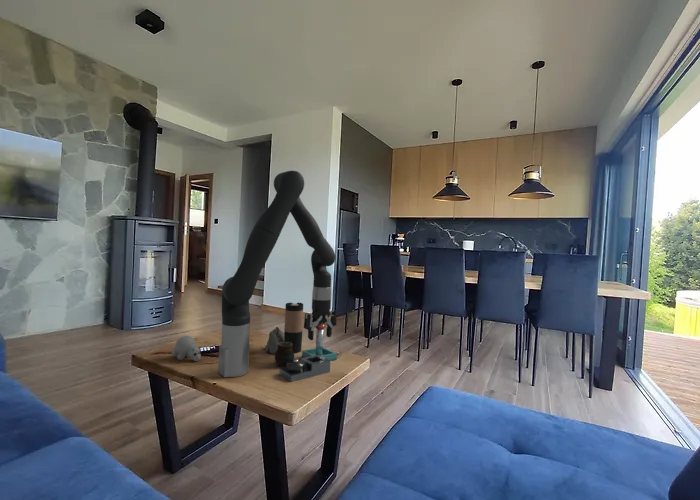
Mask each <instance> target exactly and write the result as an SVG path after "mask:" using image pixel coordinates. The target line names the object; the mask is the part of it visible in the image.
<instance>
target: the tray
mask: <svg viewBox="0 0 700 500" xmlns="http://www.w3.org/2000/svg"><path fill="white" fill-rule="evenodd" d="M314 355H316V347H315V348H310V349H305V350H301V358H304V357H309V356H314ZM322 357H324V358H326V359H328V360H330V362H331V361H336V360H337V359H338V353H337V352H335V351H333V350H331V349H329V348H327V347H324V346H323V355H322Z"/></svg>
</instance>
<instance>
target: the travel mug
mask: <svg viewBox="0 0 700 500" xmlns="http://www.w3.org/2000/svg"><path fill="white" fill-rule="evenodd" d="M284 310H285V311H284V312H285V313H284V332H283V333H284V342H290V341H291V342H290V343H292V344H293V347H292V349H293V352H294V354H298V353H301V352H302V348H303V347H302V343H303V329H304V303H302V302H297V303H293V302H286V303H285V308H284Z"/></svg>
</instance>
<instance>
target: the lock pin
mask: <svg viewBox="0 0 700 500" xmlns="http://www.w3.org/2000/svg"><path fill="white" fill-rule="evenodd" d="M326 326H327V325H326V324H325V323H321V324H318V325H317V326H316V327H315V328H316V330H315V331H316V333H315V336H316V337H315V348H316V355H320V356H322V355H323V347H324V341H325V338H324V337H325V335H324V333H325V328H326ZM315 328H314V329H315Z"/></svg>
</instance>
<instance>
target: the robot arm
mask: <svg viewBox="0 0 700 500" xmlns="http://www.w3.org/2000/svg"><path fill="white" fill-rule="evenodd" d="M304 188H305V180H304V176H303V175H302V174H301V173H300V172H299V171H296V170H287V171H283V172H280V173H278V174H277V175H275V176H274V179H273V189H274V191H275V192H276V193H275V196H274V198H273V199H272V202H271V203H270V205H268V207H267V208H266V209H265V211H264V212H263V213H262V214H261V216H260V217H259V218H258V219H257V221H256V222H255V224H254V226H253V229H252V230H251V232H250V234H249V237H248V239H247V241H246V244H245V245H246V246H245V249H244V253H243V257H242V260H241V263H239V266H238V268H237V270H236V272H235V273H234V275H233V276H231V277H229V278H227V279H226V280H225V281H224V283H223V285H222V287H221V340H220V341H221V344H219V347H218V367H217V368H218V371H217V372H218V373H219V375H221V376H222V377H223V378H237V377H242V376H245V375H246V374H248V373H249V366H250V365H249V364H250V363H249V362H250V358H249V357H250V337H251V336H250V334H251V333H250V332H251V331H250V330H251V313H250V300H251V298H252V296H253V294H254V292H255V288H256V286H257V282H258V281H259V280H258V279H259V277H260V274H261V273H262V269H263V268H264V266H265V265H266V264H267V263H266V262H267V261H268V260H269V258H270V255H271V253H272V251H273V249H274V247H275V246H276V244H277V241H278V239H279V237H280V235H281V233H282V230H283V229H284V226H285V225H286V222H287V220H288V217H289V215H290V214H291V216H292V217H293V219H294V221H295V222H296V225H297V226H298V229H299V230H300V232H301V235H302V236H303V239H304V241H305V243H306V245H307V246H308V247H310V248H313V251H312V253H311V257H310V264H311V268H312V274H313V284H312V285H313V287H312V293H311V294H312V295H311V313H307V312H305V314H304V318H303V329H305V330H307V338H308V340H309V341H314V330H315V327H316V326H317V325H318V324H321V323H325V324H326V325H325V326H327V327H326V332H325V333H326V337H327V338H331V337H332V334H333V332H332V331H333V327H336V326H337V311H336V310H331V305H332V274H331V273H330V272H329V271H328V269H327V267H331V266H333V264H335V261H336V253H335V250H334V249H333V247H332V246H331V244H330V243H329V242H328V241H327V239H326V238H325V237H324V235H323V233H322V230H321V229H320V226H319V224H318V222H317V220H316V219H315V217H314V216H313V215H312V214H311V212H310V211H309V210H308V208H306V206H305V205H304V203H303V201H302V200H301V197H300V196H301V195H302V192H303V191H304Z"/></svg>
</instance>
